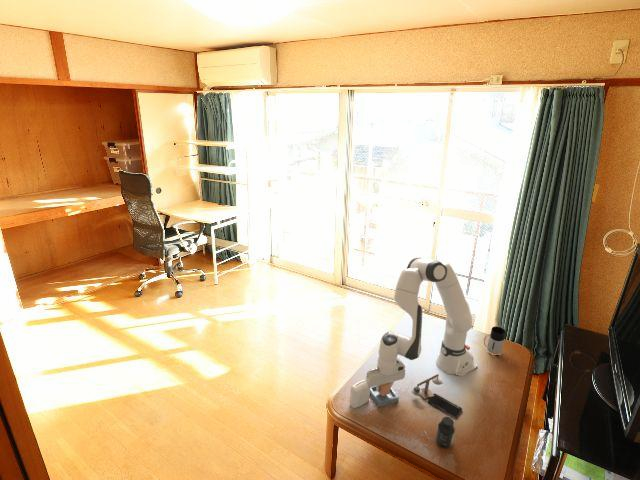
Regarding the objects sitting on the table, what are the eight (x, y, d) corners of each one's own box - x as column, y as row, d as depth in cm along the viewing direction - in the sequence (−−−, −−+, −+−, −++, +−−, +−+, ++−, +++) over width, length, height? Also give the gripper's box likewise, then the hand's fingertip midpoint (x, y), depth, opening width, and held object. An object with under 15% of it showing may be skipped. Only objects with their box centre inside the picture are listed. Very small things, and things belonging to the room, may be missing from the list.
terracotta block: (383, 387, 186) (385, 377, 184) (389, 393, 182) (391, 383, 180) (376, 390, 184) (377, 381, 181) (382, 396, 180) (383, 386, 178)
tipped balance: (435, 386, 191) (438, 369, 187) (442, 394, 186) (446, 377, 182) (408, 394, 186) (410, 376, 181) (415, 402, 180) (417, 385, 176)
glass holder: (504, 354, 217) (510, 332, 212) (486, 359, 212) (491, 338, 207) (493, 345, 225) (498, 324, 219) (475, 350, 220) (480, 329, 214)
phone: (433, 392, 186) (463, 408, 177) (433, 394, 186) (462, 410, 177) (426, 401, 180) (456, 418, 171) (426, 403, 181) (456, 420, 172)
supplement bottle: (455, 446, 158) (459, 425, 154) (442, 450, 156) (446, 429, 152) (444, 433, 164) (449, 412, 160) (432, 437, 162) (436, 417, 158)
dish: (386, 385, 190) (387, 381, 190) (398, 401, 181) (398, 397, 180) (367, 390, 187) (368, 386, 186) (378, 407, 177) (379, 403, 176)
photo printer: (364, 395, 184) (366, 375, 179) (370, 401, 180) (372, 381, 176) (348, 404, 178) (349, 383, 174) (353, 410, 175) (355, 389, 170)
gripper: (370, 375, 171) (367, 398, 176) (408, 365, 178) (404, 388, 183) (364, 366, 176) (362, 389, 181) (401, 357, 183) (398, 379, 188)
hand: (383, 388), depth 182 cm, fingers closed on terracotta block, 5 cm apart
